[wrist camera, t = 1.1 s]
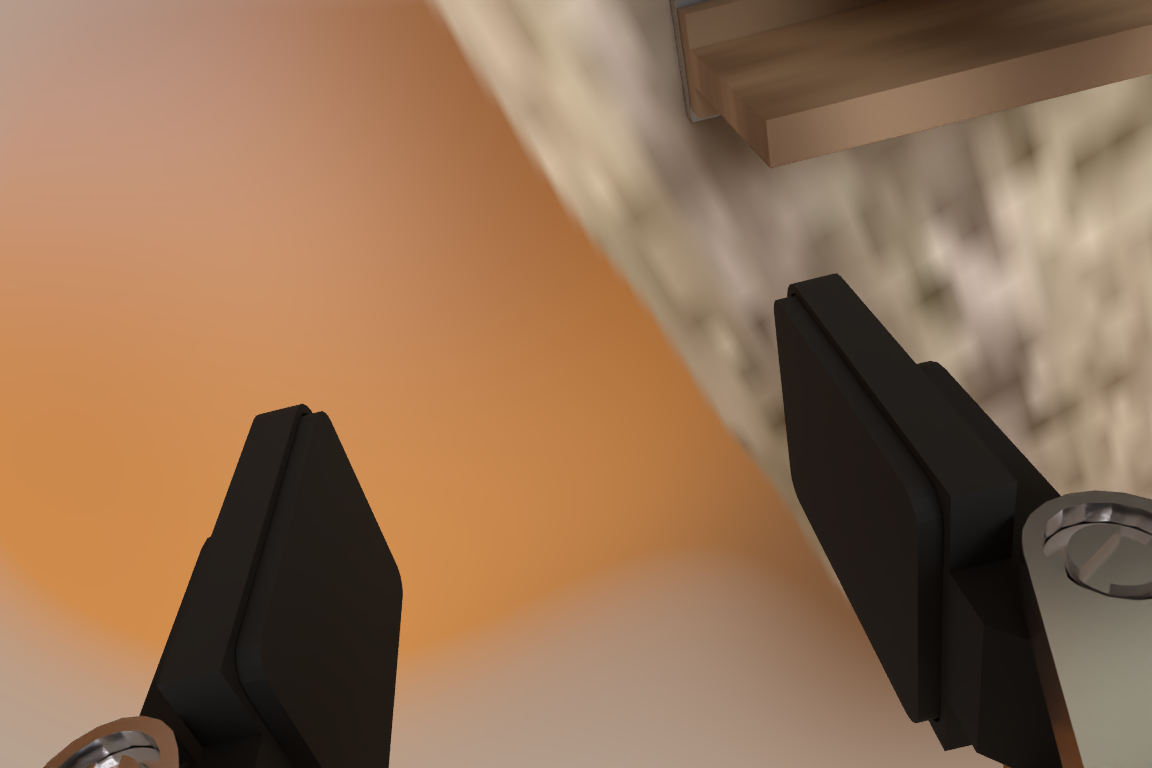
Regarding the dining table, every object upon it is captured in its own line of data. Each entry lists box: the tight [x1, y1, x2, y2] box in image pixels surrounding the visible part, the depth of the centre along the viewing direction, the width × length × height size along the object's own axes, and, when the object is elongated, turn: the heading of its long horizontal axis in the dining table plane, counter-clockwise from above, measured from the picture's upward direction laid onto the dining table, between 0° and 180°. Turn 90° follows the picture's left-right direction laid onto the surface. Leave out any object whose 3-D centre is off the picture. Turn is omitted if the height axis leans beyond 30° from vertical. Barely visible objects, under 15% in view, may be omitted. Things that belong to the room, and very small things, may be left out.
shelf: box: [677, 0, 1152, 168], centre depth 21 cm, size 12×3×8 cm, turn 102°
